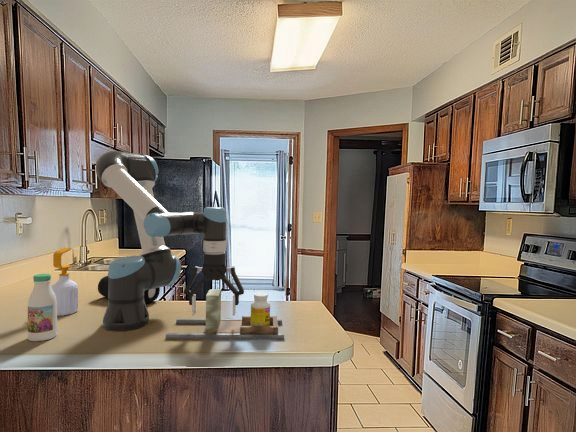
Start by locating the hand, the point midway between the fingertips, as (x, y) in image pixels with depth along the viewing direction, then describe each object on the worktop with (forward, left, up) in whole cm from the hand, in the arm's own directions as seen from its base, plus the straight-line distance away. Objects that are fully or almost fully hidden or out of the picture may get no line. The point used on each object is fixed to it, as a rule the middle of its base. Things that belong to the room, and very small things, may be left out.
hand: (213, 314), depth 126 cm
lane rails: (+3, +4, -6) cm, 7 cm away
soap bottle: (-55, -29, -6) cm, 62 cm away
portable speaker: (-55, -4, -6) cm, 55 cm away
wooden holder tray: (+7, +7, -5) cm, 11 cm away
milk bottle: (-33, -42, -6) cm, 53 cm away
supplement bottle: (+11, +11, -6) cm, 17 cm away
